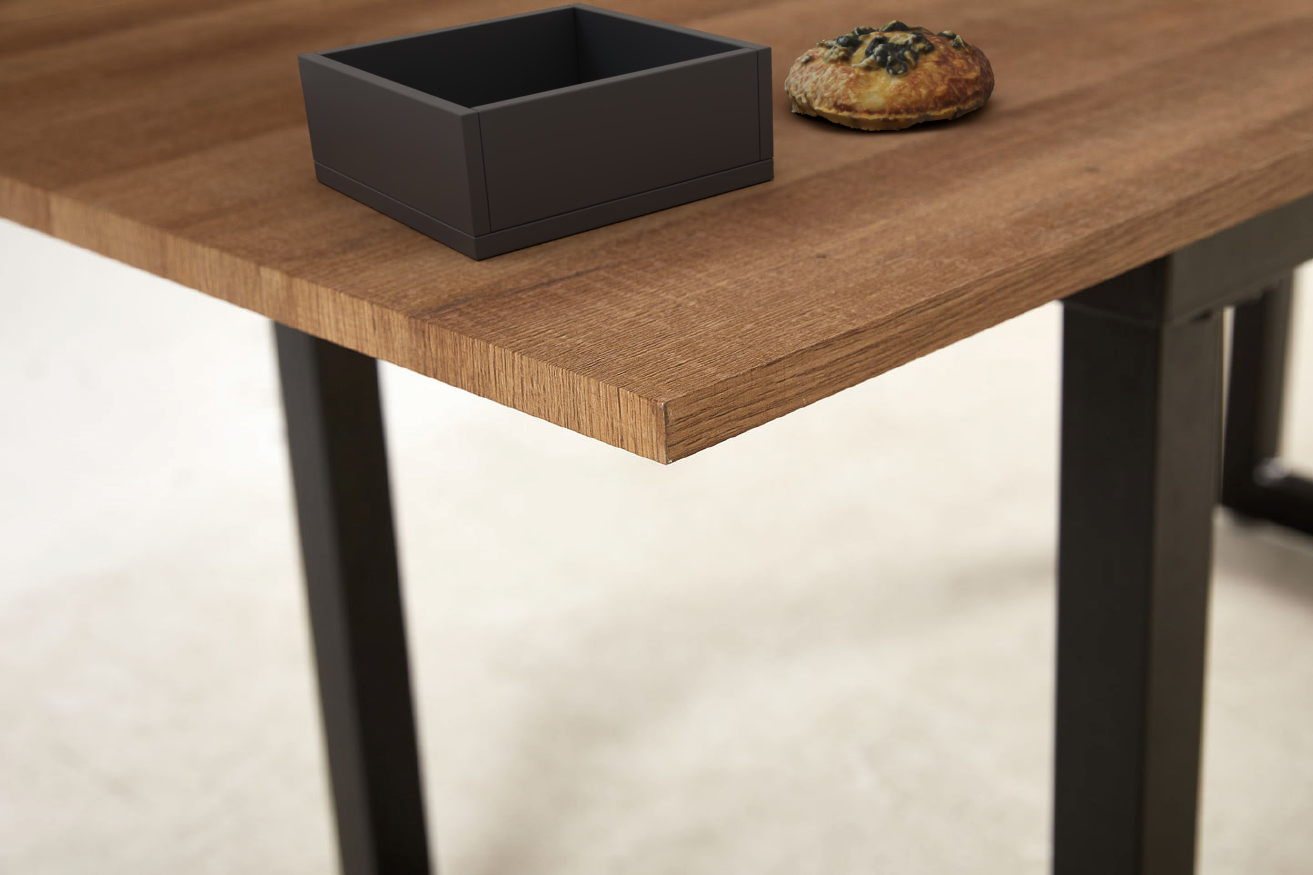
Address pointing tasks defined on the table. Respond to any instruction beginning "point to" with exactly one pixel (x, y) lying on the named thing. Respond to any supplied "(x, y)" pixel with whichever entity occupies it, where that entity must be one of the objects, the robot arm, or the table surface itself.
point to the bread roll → (890, 77)
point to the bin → (538, 123)
